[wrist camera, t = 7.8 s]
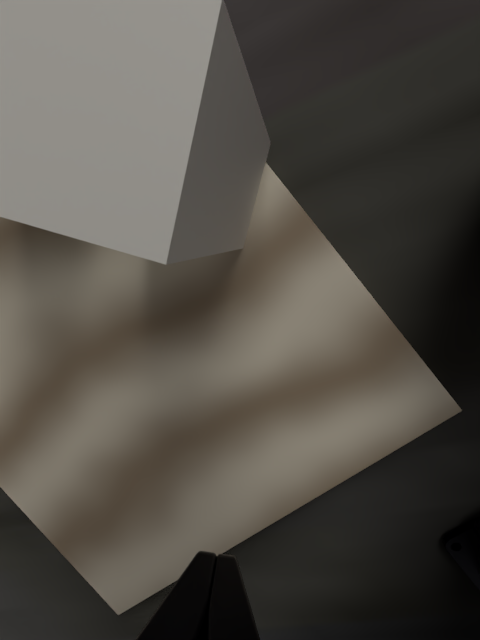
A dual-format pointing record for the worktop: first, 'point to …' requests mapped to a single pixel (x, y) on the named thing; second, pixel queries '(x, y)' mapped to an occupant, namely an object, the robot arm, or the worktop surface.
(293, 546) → the worktop surface
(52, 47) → the cream block
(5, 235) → the maple board
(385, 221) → the worktop surface
